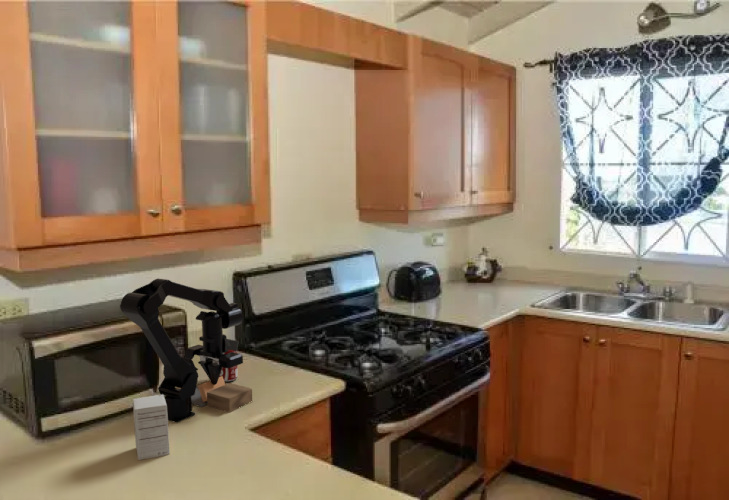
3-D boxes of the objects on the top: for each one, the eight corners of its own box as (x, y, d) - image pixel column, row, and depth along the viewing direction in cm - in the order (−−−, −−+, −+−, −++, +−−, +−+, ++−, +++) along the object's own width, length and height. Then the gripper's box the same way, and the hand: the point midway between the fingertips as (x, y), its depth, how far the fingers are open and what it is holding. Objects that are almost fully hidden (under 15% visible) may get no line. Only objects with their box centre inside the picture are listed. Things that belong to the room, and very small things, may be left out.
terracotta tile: (201, 384, 172) (197, 385, 173) (207, 400, 172) (203, 402, 173) (222, 376, 179) (218, 377, 180) (227, 391, 178) (223, 393, 179)
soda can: (240, 376, 195) (239, 340, 194) (234, 383, 189) (232, 346, 187) (220, 375, 196) (219, 340, 194) (213, 383, 189) (211, 346, 188)
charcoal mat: (202, 407, 170) (202, 405, 170) (171, 398, 177) (171, 396, 177) (232, 393, 180) (232, 392, 180) (202, 385, 187) (202, 384, 187)
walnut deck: (229, 412, 166) (229, 398, 166) (207, 405, 171) (206, 392, 170) (252, 401, 174) (251, 388, 173) (230, 395, 178) (229, 382, 178)
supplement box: (135, 447, 145) (132, 398, 144) (167, 442, 148) (164, 393, 147) (136, 461, 139) (133, 409, 137) (170, 454, 142) (167, 404, 140)
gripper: (255, 330, 174) (257, 382, 176) (211, 322, 185) (213, 370, 187) (227, 339, 165) (229, 393, 167) (182, 330, 175) (184, 381, 177)
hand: (214, 384), depth 175 cm, fingers closed
